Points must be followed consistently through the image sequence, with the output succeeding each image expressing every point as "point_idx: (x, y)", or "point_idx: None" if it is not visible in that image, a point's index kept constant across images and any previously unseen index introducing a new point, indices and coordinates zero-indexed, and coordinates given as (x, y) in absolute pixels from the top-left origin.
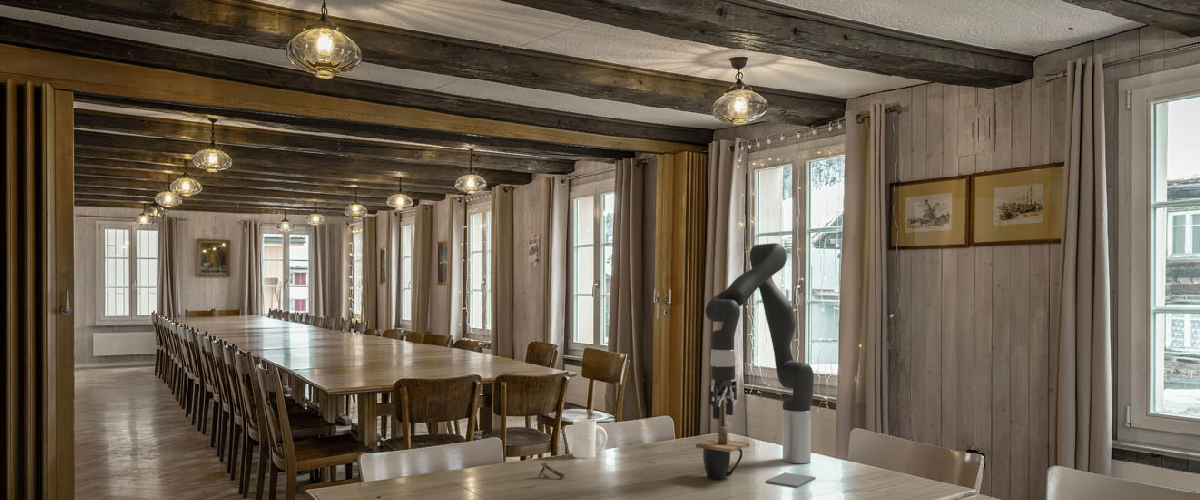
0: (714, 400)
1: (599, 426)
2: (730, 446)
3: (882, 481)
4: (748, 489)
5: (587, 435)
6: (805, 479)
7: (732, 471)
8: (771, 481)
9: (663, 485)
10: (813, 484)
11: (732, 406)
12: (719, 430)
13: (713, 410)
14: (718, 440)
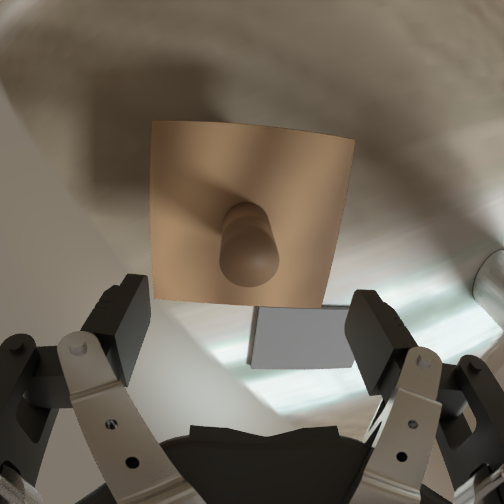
0: (17, 411)
1: None
2: (201, 278)
3: (369, 422)
4: None
5: None
6: (319, 363)
7: None
8: (258, 319)
9: (59, 92)
10: (299, 375)
11: (365, 376)
12: (222, 243)
13: (89, 321)
14: (228, 214)
